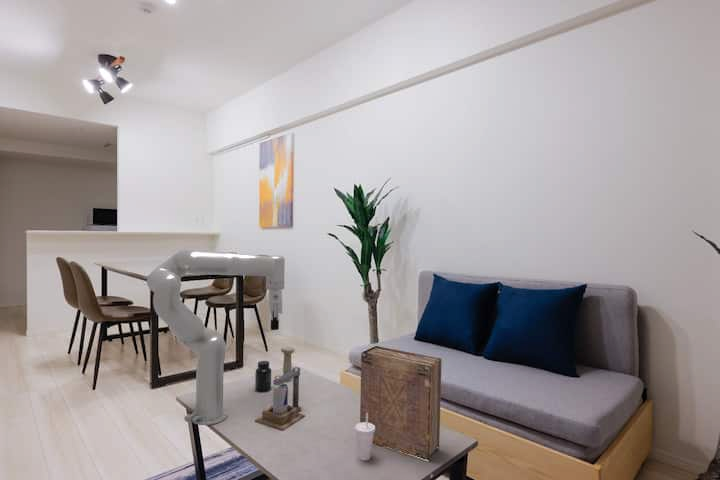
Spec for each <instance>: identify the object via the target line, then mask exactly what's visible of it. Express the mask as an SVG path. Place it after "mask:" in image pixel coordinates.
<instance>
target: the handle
mask: <svg viewBox="0 0 720 480" xmlns="http://www.w3.org/2000/svg"><path fill="white" fill-rule="evenodd" d="M280 352H281V353H283V364H282V366H283V367H282V375H284V374H286V373H288V372H290V371H291V370H292V368H293V366H292V354H293V353H294V352H295V348H294V347H292V346H291V347H290V346H284V347H281V348H280ZM291 379H292V378H291ZM291 379H289V380H288V381H287V382H290V381H291Z"/></svg>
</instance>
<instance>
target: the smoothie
mask: <svg viewBox="0 0 720 480" xmlns="http://www.w3.org/2000/svg"><path fill="white" fill-rule="evenodd" d="M354 431H355V434H356V436H355V437H356V443H357V453H358V459H359V460H360V461H368V460H370V459H371V456H372V449H373V444H374V443H373V437H374V432H375V426H374V425H373V424H371V423H368V413H366V422H362V423H360V422H358V423H357V424H356V425H355V427H354Z"/></svg>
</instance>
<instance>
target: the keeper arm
mask: <svg viewBox="0 0 720 480" xmlns="http://www.w3.org/2000/svg"><path fill="white" fill-rule="evenodd" d="M295 376H299V377H300V376H301V368H300V367H298V366H297V367H296V366H295V367H292V370H291V371H290V372H288V373H286V374H284V375H283V374H282V375H275V377H274V379H273V380H272V381H273V382H272V383H273V384H272V385H273V386H274V385H278V386H279V385H281V384H282V383H284V384H285V383H286V382H289V381H288V380H289V379H293V377H295Z"/></svg>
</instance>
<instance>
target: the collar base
mask: <svg viewBox="0 0 720 480" xmlns="http://www.w3.org/2000/svg"><path fill="white" fill-rule="evenodd" d="M292 380H293V381H292V405H289V404H288V407H287V413H285V414H284V415H278V414H275V413H273V405H271V406H270V407H268V408H266V409H264V410H262V412H261V413H262V414H261V416H260V417H258V418H256V419H255V420H254V422H255V423H258V424H259V425H262V426H266V427H269V428H272V429H275V430H279V431H281V432H284V431H285V430H287V429H289V428H290V427H291V426H293V425H295V424H296V423H298V422H299V421H301V420H302V419H304V418H305V417H306V415H305V414H302V413H301V411H302V407H301V406H299V403H300V402H299V401H300V398H299V396H300V395H299V394H300V393H299V391H300V375H299V376H295V377H293V378H292Z"/></svg>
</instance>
